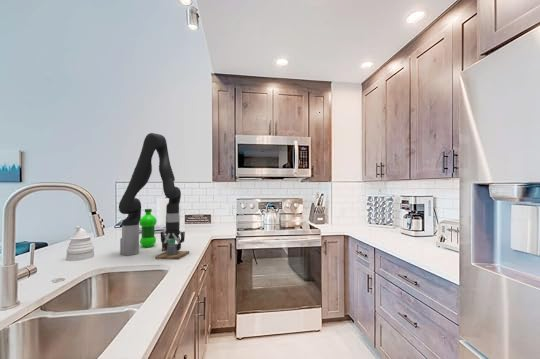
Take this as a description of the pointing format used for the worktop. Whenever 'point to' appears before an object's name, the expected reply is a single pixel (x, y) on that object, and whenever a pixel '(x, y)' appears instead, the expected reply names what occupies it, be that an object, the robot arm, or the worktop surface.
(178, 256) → the stub board
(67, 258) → the honey pot
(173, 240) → the food container
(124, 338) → the worktop surface
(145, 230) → the plastic bottle
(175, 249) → the cap
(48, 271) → the worktop surface
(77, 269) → the worktop surface
